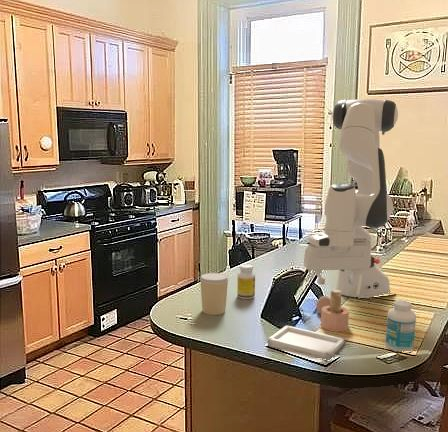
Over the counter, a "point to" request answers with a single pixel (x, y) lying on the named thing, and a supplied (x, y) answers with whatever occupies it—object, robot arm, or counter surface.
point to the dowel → (335, 301)
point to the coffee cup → (214, 293)
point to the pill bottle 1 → (246, 282)
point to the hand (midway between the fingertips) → (336, 283)
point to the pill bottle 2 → (400, 327)
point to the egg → (322, 303)
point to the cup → (334, 319)
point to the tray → (306, 342)
